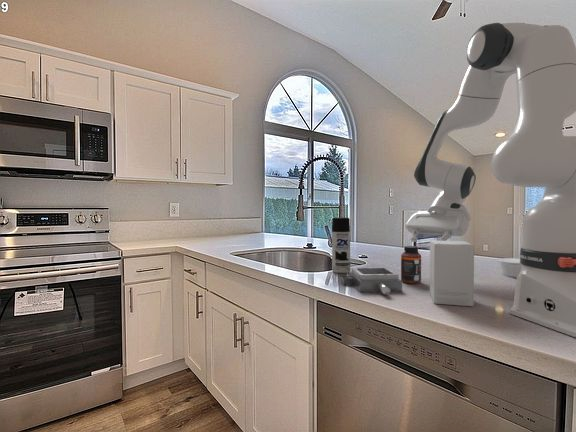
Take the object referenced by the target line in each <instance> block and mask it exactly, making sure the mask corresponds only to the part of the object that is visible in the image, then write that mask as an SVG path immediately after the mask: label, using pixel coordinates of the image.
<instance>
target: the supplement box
mask: <svg viewBox="0 0 576 432" xmlns="http://www.w3.org/2000/svg"><path fill="white" fill-rule="evenodd" d="M474 274H475V245H474V244H472V243H470V242H468V241H465V240H446V241H436V240H430V241H429V297H430V298H431V300H432V302H433V304H436V305H437V304H439V305H446V306H447V305H451V306H461V307H462V306H463V307H471V308H472V307H474V303H475V301H474V293H475V292H474V291H475V289H474V288H475V287H474V286H475V285H474V284H475V283H474V282H475V281H474V280H475V279H474V278H475V275H474Z"/></svg>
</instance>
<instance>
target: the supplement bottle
mask: <svg viewBox="0 0 576 432" xmlns="http://www.w3.org/2000/svg"><path fill="white" fill-rule="evenodd" d="M403 250H404V252H402V253H401V254H400V256H401V257H400V280H401V281H402V283H405V284H410V285H412V284H415V285H417V284H420V283H422V255H421V253H420V252H419V248H418V246H416V245H406V246H405V245H404V249H403Z"/></svg>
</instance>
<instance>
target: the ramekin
mask: <svg viewBox="0 0 576 432" xmlns="http://www.w3.org/2000/svg"><path fill="white" fill-rule="evenodd" d="M498 263H499V264H500V270H501V274H503V275H504V276H505V277H509V278H515V279H517V276H518V275H519V273H520V271H521V268H522V264H521V263H520V257H519V258H517V257H515V258H514V257H504V258H503V257H502V258H499V260H498Z"/></svg>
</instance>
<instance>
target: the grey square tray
mask: <svg viewBox="0 0 576 432" xmlns="http://www.w3.org/2000/svg"><path fill="white" fill-rule="evenodd" d="M340 279H341V280H340V282H341V284H342V286H354V287H355V289H356V290H357V291H358V292H359V293H382V294H383V295H385V296H388V295H390V294H391V293H395V292H399V293H401V292H403V282H402V281H401V278H399V273H397V272H395V271H393V270H391V269H390V268H388V267H385V266H384V267H373V266H372V267H351V270H350V272H349V273H348V275H341V278H340Z"/></svg>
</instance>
